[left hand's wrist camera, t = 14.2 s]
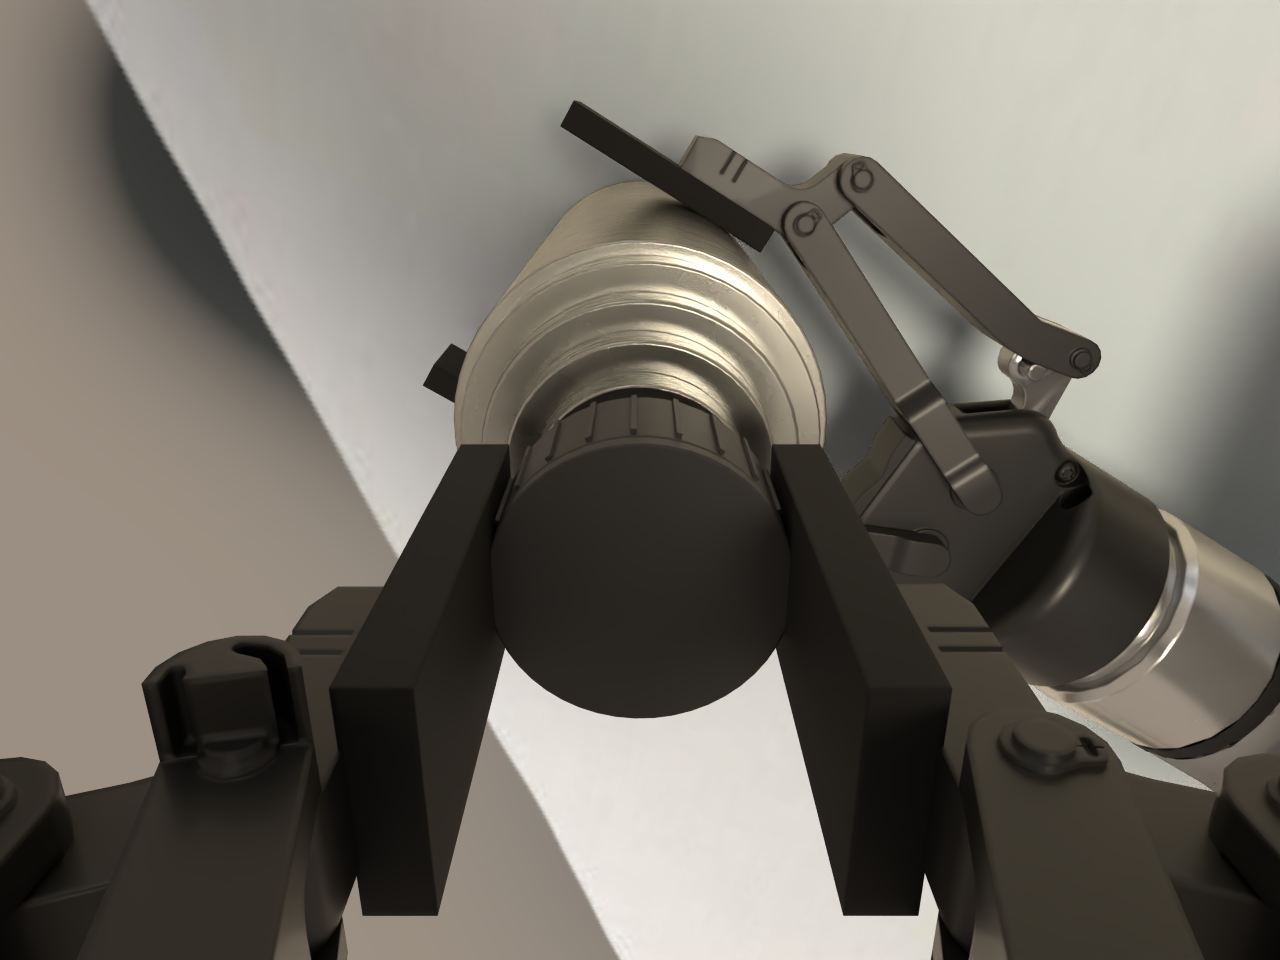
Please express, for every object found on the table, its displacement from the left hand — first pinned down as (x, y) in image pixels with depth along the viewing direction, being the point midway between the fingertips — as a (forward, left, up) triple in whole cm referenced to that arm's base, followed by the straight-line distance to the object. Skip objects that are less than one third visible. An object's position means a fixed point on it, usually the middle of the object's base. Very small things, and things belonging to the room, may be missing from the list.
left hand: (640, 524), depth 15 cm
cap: (0, 0, +2) cm, 2 cm away
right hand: (-4, -3, -14) cm, 15 cm away
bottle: (0, 0, -21) cm, 21 cm away
